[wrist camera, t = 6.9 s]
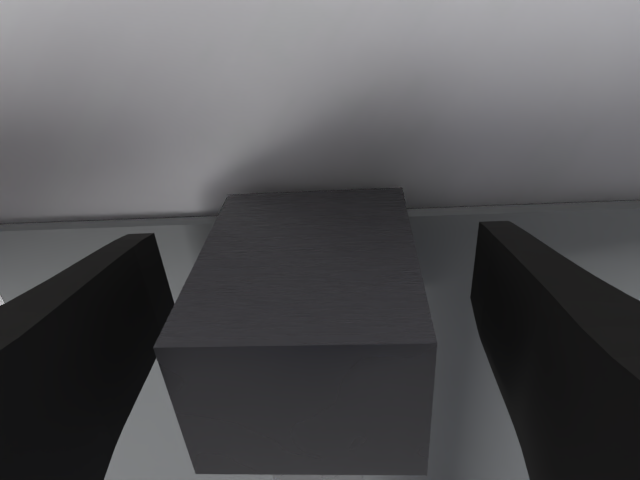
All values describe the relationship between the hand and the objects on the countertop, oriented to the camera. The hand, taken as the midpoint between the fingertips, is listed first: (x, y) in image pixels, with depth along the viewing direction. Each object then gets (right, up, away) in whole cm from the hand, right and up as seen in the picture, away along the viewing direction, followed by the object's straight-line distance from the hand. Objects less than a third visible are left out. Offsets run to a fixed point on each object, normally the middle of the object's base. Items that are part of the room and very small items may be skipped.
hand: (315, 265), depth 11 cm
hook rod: (+1, -7, +5) cm, 9 cm away
